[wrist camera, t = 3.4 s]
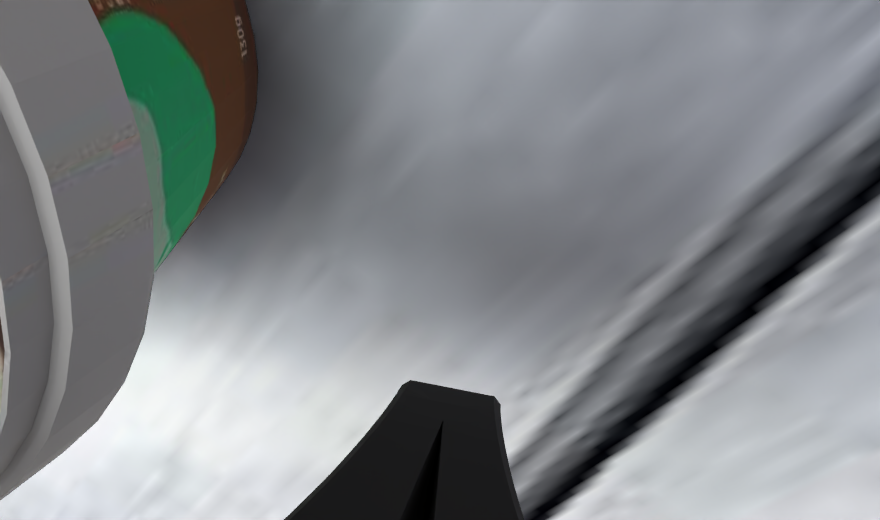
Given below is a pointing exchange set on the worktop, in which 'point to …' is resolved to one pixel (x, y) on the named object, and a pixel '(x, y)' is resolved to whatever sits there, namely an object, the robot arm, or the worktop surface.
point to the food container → (101, 191)
